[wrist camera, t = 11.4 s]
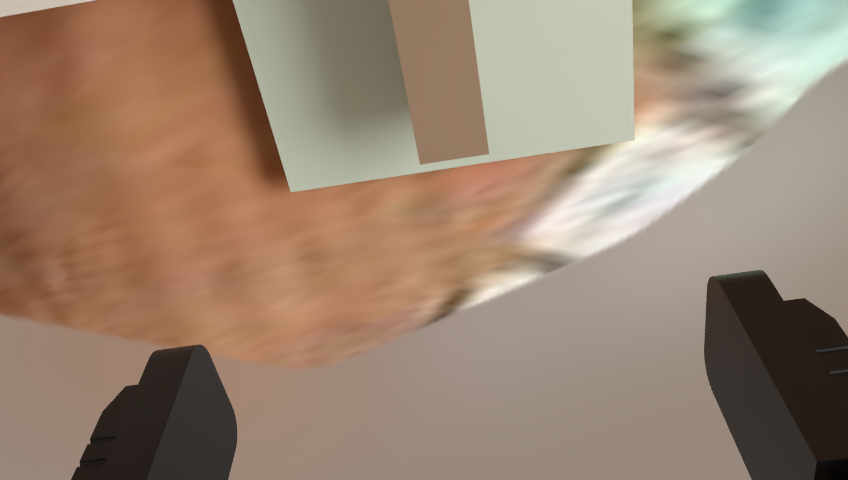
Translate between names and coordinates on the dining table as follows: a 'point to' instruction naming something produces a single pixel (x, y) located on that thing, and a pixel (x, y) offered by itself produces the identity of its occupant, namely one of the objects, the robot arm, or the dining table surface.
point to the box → (32, 5)
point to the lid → (436, 82)
